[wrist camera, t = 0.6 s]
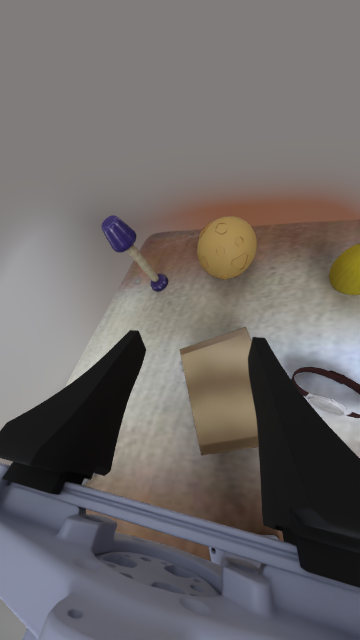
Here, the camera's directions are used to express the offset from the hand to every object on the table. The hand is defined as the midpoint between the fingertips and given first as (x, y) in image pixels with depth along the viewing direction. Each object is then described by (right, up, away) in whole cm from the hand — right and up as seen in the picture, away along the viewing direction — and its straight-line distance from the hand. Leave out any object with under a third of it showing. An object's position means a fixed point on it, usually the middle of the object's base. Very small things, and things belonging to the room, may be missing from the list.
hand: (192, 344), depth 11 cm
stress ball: (+9, +12, +23) cm, 27 cm away
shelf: (+7, -9, +15) cm, 18 cm away
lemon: (+23, +6, +14) cm, 27 cm away
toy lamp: (-5, +10, +29) cm, 31 cm away
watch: (+17, -7, +10) cm, 21 cm away
